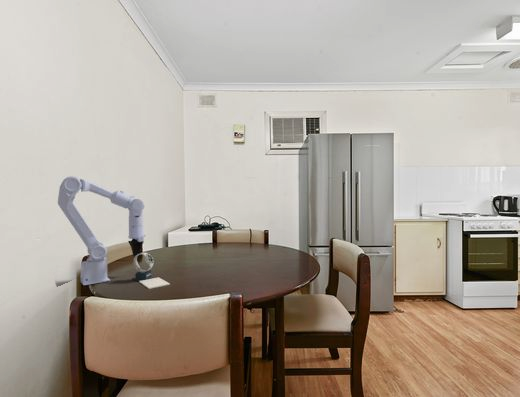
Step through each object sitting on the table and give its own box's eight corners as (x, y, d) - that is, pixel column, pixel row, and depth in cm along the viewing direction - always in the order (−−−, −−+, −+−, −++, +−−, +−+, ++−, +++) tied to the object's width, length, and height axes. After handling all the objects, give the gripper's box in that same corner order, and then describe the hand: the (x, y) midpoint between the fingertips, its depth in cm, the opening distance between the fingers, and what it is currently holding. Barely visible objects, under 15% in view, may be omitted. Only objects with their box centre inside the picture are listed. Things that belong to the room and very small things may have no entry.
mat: (149, 289, 104) (149, 287, 104) (139, 282, 113) (139, 281, 113) (169, 284, 109) (169, 283, 109) (158, 278, 118) (158, 277, 118)
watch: (150, 280, 114) (150, 254, 115) (131, 280, 115) (131, 254, 115) (155, 277, 120) (155, 251, 120) (137, 277, 120) (137, 251, 120)
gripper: (150, 226, 121) (150, 257, 121) (140, 224, 132) (140, 252, 132) (133, 227, 116) (133, 259, 116) (124, 225, 127) (124, 254, 127)
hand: (136, 256), depth 124 cm, fingers closed
